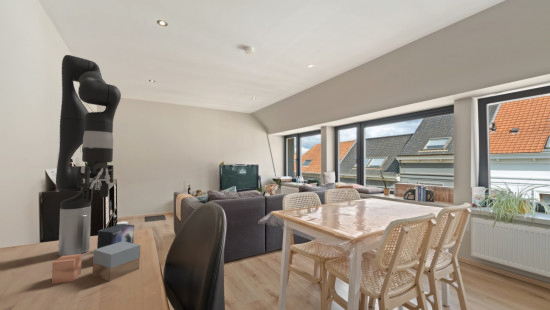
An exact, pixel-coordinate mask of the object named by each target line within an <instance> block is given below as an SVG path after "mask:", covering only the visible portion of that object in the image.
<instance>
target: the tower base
mask: <svg viewBox="0 0 550 310" xmlns="http://www.w3.org/2000/svg"><path fill="white" fill-rule="evenodd" d="M138 270H140V258H137V259H134V260H132V261H129V262H127V263H124V264H121V265H119V266H116V267H113V268H108V267H105V266H102V265H98V264H95V263H93V262H92V274H91V275H92V276H94V277H97V278H100V279H102V280H105V281H108V282H112V281H115V280H117V279H119V278H122V277H124V276H126V275H128V274H131V273H133V272H135V271H138Z"/></svg>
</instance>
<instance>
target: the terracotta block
mask: <svg viewBox="0 0 550 310" xmlns="http://www.w3.org/2000/svg"><path fill="white" fill-rule="evenodd" d="M82 254H83V253H81V254H77V255H68V256H59V257H58V258H57V259H55V260H54V261H53V262H52V265H51V267H52V268H51V269H52V270H51V272H52V273H51V284H52V285H54V284H60V283H69V282H73V281H75V280H76V279H77V278H78V277H79V276H80V275H81V274H82Z"/></svg>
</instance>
